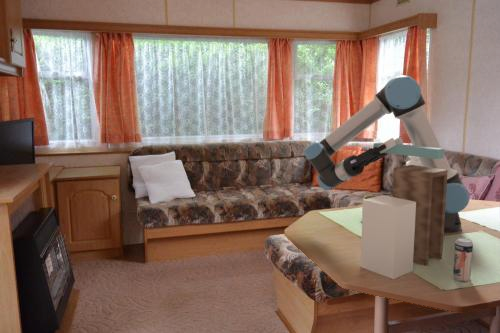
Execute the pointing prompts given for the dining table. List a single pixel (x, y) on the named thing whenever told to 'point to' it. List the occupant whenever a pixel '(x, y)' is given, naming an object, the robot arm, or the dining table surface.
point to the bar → (415, 151)
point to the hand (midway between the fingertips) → (397, 141)
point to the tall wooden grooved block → (424, 207)
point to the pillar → (388, 235)
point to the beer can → (462, 259)
